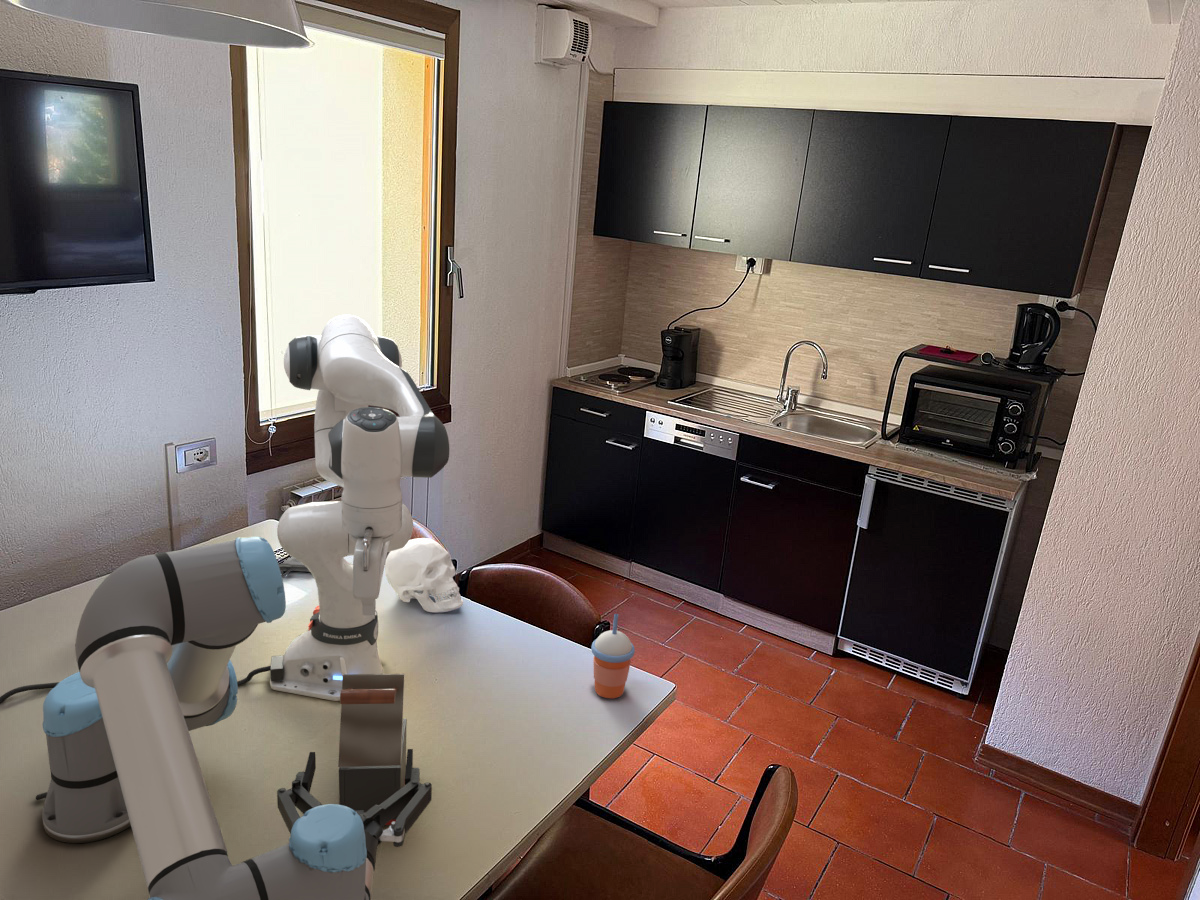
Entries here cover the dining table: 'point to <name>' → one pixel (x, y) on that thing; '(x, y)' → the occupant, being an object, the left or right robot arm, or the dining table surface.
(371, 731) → the lid
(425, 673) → the dining table surface
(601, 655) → the cup with straw
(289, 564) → the handgun
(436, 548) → the skull
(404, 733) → the chest
